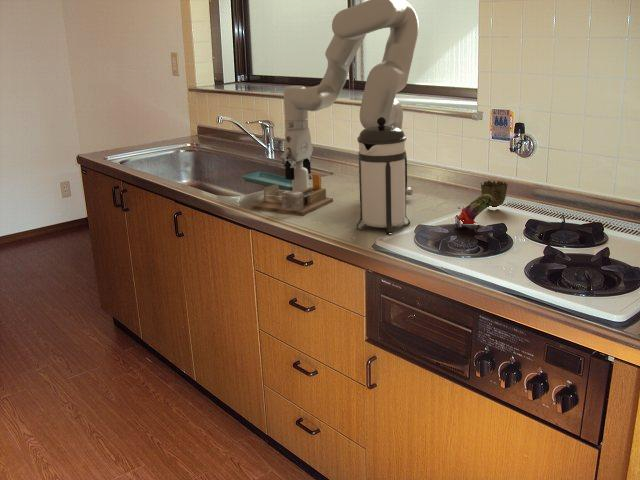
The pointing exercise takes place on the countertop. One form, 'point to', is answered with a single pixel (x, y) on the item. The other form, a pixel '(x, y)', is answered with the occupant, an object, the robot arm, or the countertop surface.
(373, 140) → the coffee press
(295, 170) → the eye dropper bottle
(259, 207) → the rail board
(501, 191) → the green flared piece
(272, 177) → the shallow long dish
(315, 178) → the shaft
